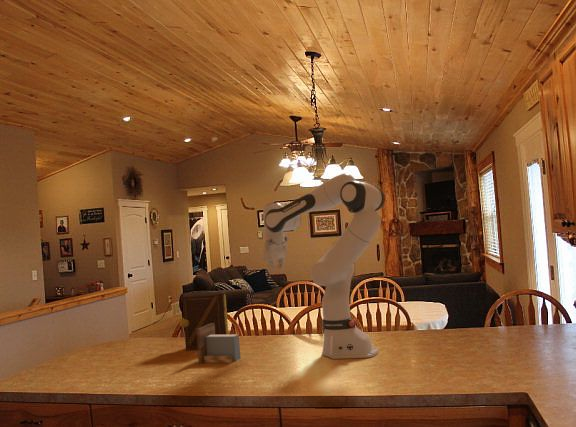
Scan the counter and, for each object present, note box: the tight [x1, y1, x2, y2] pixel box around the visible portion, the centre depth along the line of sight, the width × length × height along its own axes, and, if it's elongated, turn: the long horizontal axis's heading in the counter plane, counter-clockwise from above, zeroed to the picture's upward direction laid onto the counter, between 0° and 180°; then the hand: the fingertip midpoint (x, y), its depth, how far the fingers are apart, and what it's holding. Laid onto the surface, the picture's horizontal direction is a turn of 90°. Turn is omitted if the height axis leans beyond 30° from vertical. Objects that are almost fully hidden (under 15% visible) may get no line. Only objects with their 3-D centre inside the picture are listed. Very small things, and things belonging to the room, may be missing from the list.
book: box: [179, 291, 229, 351], centre depth 247 cm, size 22×8×25 cm, turn 84°
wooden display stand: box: [196, 323, 233, 364], centre depth 222 cm, size 14×13×14 cm
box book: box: [206, 333, 241, 362], centre depth 221 cm, size 13×4×10 cm, turn 70°
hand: (276, 269), depth 241 cm, fingers open, 8 cm apart
